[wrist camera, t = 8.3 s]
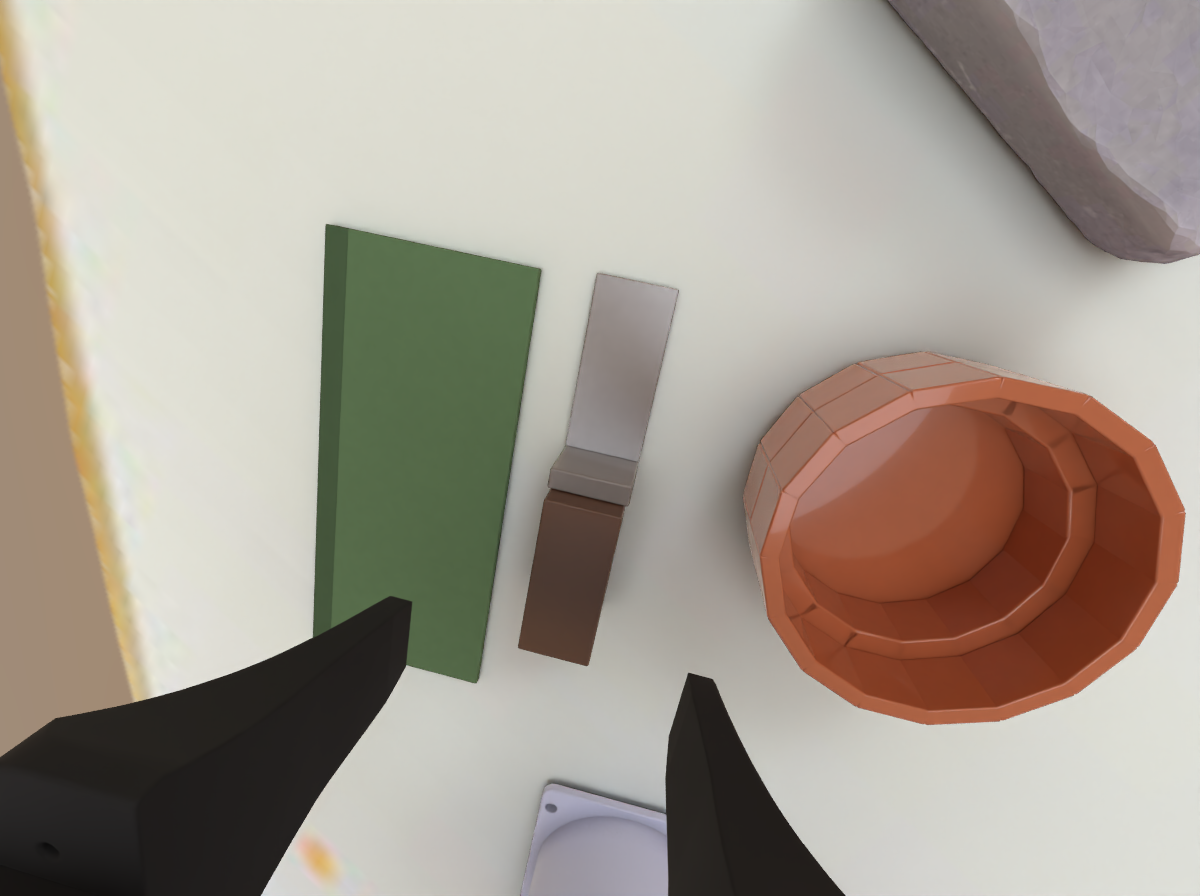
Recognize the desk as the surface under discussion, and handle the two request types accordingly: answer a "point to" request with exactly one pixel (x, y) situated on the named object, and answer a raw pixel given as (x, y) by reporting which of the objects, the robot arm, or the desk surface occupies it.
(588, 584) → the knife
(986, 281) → the desk surface
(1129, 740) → the desk surface
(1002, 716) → the bowl
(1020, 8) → the stone block
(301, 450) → the desk surface
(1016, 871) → the desk surface
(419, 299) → the green flat rectangular slab
